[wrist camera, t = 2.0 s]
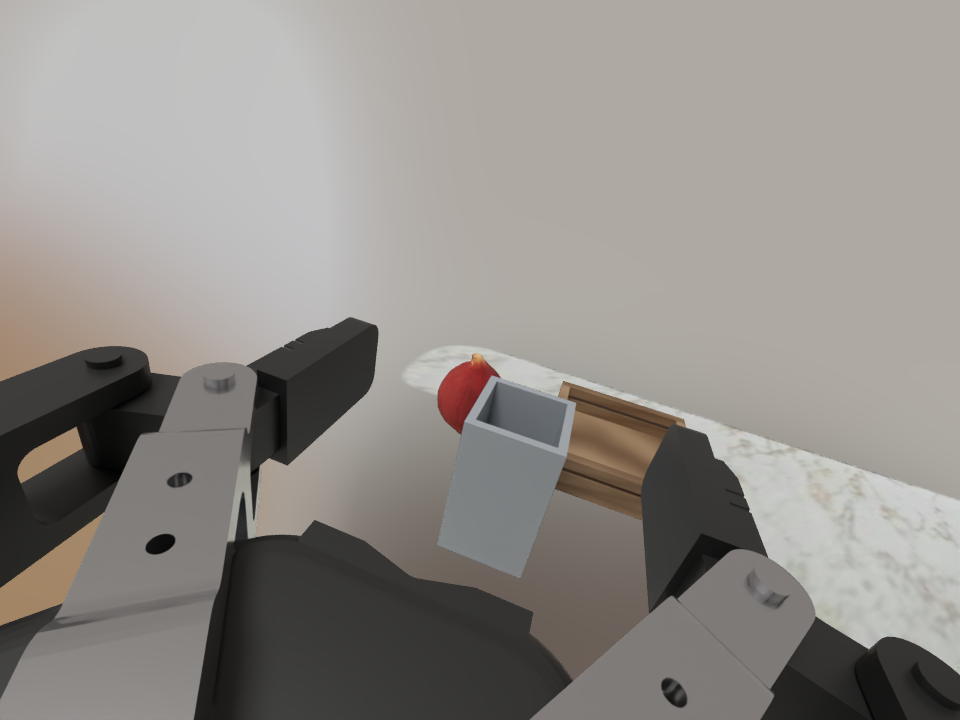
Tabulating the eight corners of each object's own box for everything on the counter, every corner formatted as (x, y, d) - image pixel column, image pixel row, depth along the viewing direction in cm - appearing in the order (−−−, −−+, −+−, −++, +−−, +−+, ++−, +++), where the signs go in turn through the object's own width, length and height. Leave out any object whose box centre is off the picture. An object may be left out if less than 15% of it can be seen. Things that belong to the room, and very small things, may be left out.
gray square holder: (520, 578, 26) (566, 457, 22) (437, 545, 27) (464, 421, 23) (535, 513, 31) (576, 402, 27) (464, 487, 32) (491, 375, 27)
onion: (491, 415, 41) (509, 342, 37) (501, 457, 36) (524, 377, 32) (430, 411, 40) (443, 334, 36) (432, 453, 35) (448, 369, 31)
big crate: (687, 536, 32) (705, 507, 31) (534, 481, 34) (545, 451, 33) (670, 444, 43) (683, 419, 41) (554, 406, 45) (563, 380, 43)
